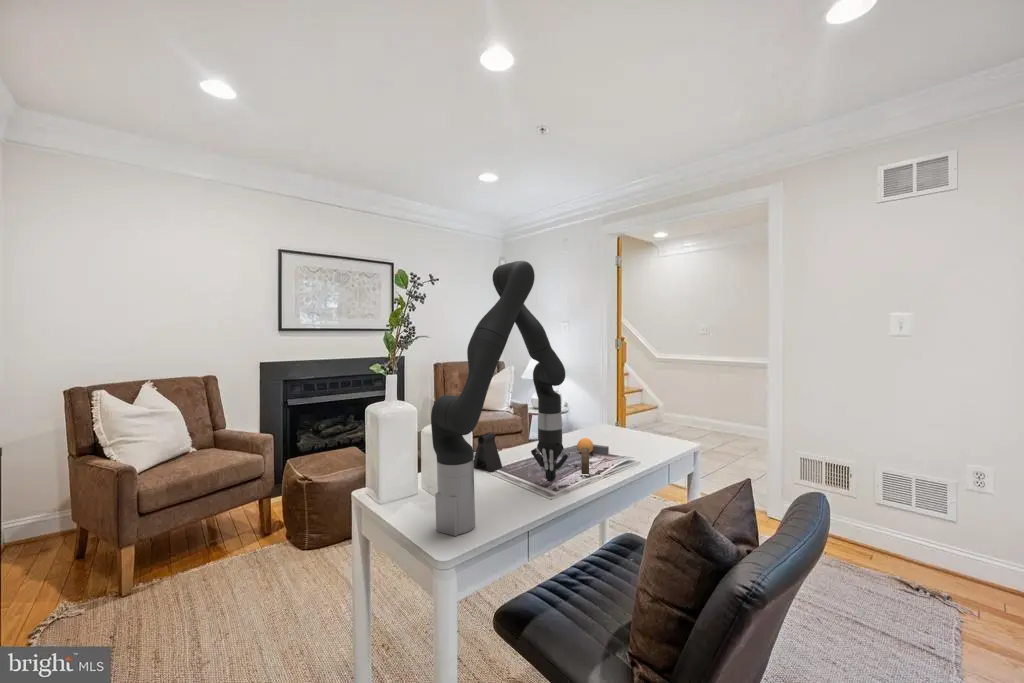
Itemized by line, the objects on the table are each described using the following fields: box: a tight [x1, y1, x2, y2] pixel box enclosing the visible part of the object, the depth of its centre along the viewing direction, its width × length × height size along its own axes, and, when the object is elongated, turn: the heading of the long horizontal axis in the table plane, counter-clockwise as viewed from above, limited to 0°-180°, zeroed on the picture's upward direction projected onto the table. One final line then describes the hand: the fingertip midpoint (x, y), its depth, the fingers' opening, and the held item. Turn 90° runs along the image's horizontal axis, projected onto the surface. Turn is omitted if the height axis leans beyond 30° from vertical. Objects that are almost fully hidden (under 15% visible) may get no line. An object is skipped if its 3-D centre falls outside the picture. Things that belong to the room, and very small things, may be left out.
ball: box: [577, 437, 594, 454], centre depth 166 cm, size 6×6×6 cm
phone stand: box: [474, 432, 503, 473], centre depth 152 cm, size 9×6×12 cm, turn 55°
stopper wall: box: [576, 443, 609, 455], centre depth 169 cm, size 2×12×2 cm, turn 60°
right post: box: [580, 448, 590, 475], centre depth 143 cm, size 3×3×9 cm
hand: (550, 481), depth 135 cm, fingers closed
